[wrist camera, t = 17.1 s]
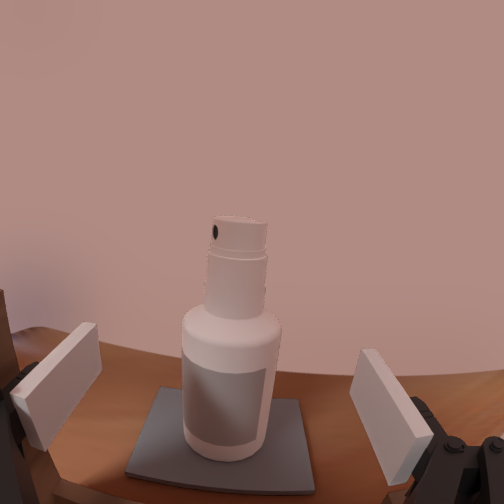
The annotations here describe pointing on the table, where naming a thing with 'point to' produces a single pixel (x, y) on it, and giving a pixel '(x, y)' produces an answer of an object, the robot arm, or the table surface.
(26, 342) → the table surface
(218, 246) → the spray bottle
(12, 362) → the rack
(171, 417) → the mat
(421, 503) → the robot arm
